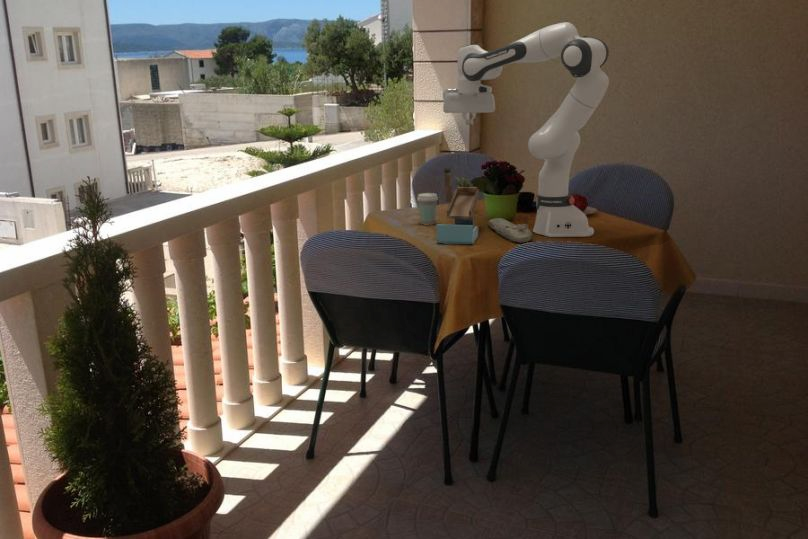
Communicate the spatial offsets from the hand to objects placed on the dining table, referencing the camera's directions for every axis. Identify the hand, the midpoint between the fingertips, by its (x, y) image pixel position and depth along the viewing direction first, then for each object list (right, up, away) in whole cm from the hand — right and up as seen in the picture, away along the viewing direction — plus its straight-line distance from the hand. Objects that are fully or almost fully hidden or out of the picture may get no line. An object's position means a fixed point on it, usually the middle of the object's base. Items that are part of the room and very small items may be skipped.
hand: (469, 124), depth 288 cm
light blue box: (-6, -46, -20) cm, 51 cm away
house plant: (0, -32, +30) cm, 44 cm away
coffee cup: (-16, -39, +9) cm, 43 cm away
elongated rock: (+14, -44, -11) cm, 48 cm away
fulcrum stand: (-3, -43, -7) cm, 43 cm away
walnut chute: (-4, -35, -9) cm, 36 cm away
